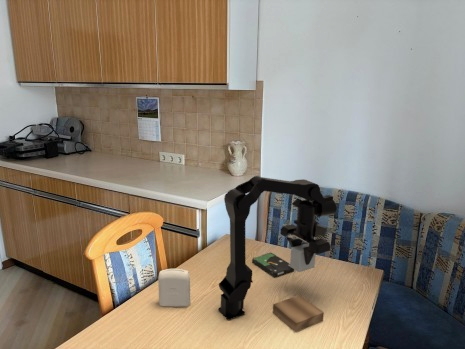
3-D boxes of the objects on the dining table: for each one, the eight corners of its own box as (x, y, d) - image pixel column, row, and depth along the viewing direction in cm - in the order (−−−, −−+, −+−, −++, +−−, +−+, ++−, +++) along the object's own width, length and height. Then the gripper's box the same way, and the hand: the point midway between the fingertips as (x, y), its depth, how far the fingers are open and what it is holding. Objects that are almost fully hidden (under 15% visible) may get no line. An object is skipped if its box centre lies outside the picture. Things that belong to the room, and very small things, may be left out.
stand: (295, 332, 104) (296, 323, 104) (272, 312, 113) (273, 304, 113) (322, 320, 110) (323, 312, 109) (299, 302, 119) (299, 294, 118)
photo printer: (157, 307, 115) (156, 272, 112) (160, 299, 119) (159, 265, 116) (189, 308, 115) (189, 273, 112) (191, 300, 119) (191, 266, 116)
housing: (298, 272, 118) (300, 252, 116) (290, 266, 121) (291, 247, 120) (314, 267, 121) (316, 248, 120) (305, 262, 125) (306, 243, 123)
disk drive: (294, 272, 140) (270, 257, 152) (295, 266, 139) (270, 251, 151) (274, 279, 134) (251, 263, 146) (275, 273, 134) (251, 257, 146)
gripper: (344, 223, 114) (340, 267, 117) (304, 206, 129) (301, 246, 133) (319, 229, 108) (315, 275, 111) (280, 211, 123) (278, 252, 127)
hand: (302, 261), depth 121 cm, fingers closed on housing, 4 cm apart
